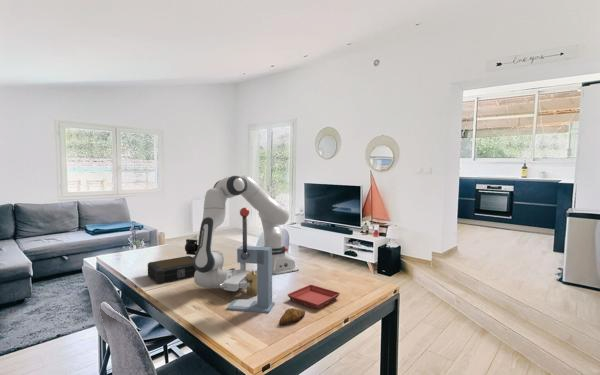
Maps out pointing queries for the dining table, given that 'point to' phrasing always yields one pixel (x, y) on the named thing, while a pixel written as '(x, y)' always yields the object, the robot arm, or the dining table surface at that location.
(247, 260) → the press
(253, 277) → the block
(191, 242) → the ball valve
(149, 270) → the cash box
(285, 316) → the croissant
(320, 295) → the plant saucer
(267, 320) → the dining table surface
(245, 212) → the lever
